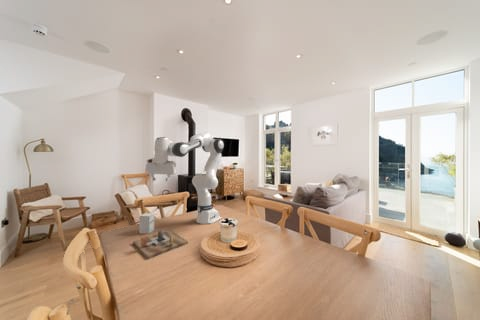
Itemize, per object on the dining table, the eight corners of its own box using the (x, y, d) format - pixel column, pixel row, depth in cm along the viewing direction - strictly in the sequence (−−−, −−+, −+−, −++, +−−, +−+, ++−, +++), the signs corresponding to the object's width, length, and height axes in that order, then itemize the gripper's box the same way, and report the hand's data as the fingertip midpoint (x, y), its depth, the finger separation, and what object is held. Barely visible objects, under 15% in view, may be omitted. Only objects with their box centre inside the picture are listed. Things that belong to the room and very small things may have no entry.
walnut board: (170, 232, 130) (170, 221, 130) (187, 243, 114) (188, 231, 114) (133, 243, 112) (133, 232, 112) (147, 259, 96) (148, 245, 96)
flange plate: (164, 236, 119) (164, 227, 119) (170, 240, 113) (170, 231, 113) (138, 244, 108) (138, 234, 108) (144, 250, 102) (144, 239, 102)
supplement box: (149, 233, 127) (149, 216, 127) (139, 233, 127) (139, 215, 127) (154, 229, 134) (154, 212, 134) (144, 229, 134) (144, 212, 134)
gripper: (177, 161, 126) (177, 180, 126) (149, 160, 127) (149, 179, 127) (173, 161, 119) (173, 181, 119) (144, 160, 121) (143, 180, 121)
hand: (160, 180), depth 123 cm, fingers open, 8 cm apart
